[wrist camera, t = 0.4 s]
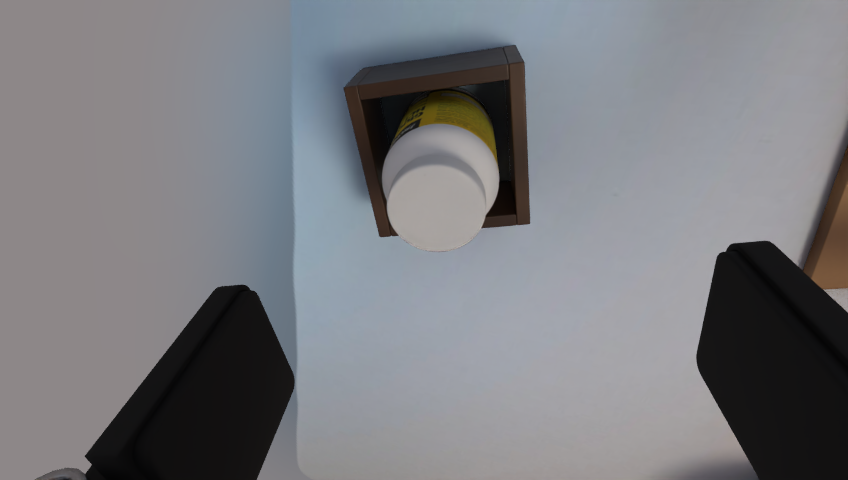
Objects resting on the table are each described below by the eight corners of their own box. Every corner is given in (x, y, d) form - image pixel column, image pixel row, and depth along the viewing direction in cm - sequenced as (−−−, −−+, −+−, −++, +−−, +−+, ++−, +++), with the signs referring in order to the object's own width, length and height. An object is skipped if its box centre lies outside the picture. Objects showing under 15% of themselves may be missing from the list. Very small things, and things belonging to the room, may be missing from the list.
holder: (361, 67, 28) (342, 87, 24) (515, 44, 27) (524, 61, 23) (390, 202, 33) (379, 237, 29) (522, 188, 32) (530, 224, 28)
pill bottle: (417, 70, 28) (391, 126, 19) (508, 104, 29) (527, 175, 19) (389, 157, 31) (356, 242, 22) (472, 186, 32) (473, 280, 23)
